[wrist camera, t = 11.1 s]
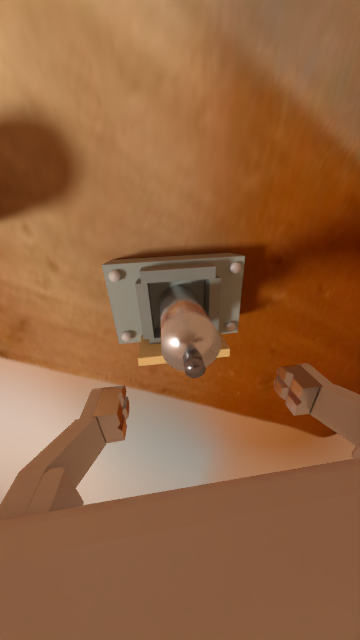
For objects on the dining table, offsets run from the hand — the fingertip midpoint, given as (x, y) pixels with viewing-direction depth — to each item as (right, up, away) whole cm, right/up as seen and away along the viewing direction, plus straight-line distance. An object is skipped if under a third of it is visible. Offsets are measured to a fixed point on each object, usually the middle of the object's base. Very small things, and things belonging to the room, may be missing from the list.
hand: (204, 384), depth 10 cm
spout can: (-1, +6, +13) cm, 14 cm away
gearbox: (-2, +8, +17) cm, 19 cm away
